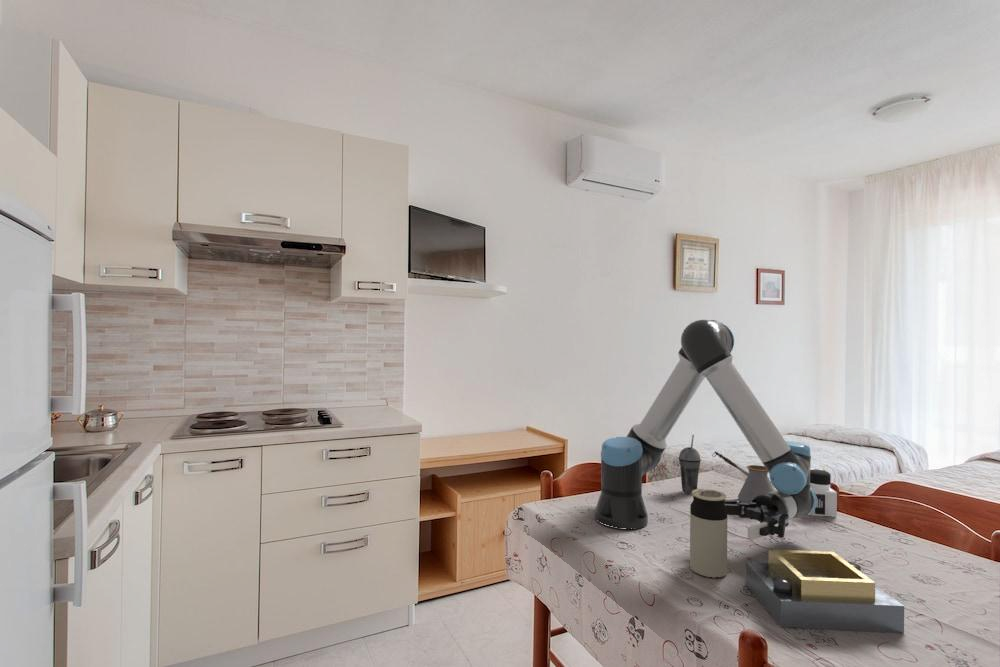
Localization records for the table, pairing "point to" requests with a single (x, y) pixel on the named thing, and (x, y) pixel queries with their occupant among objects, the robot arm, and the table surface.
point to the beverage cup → (689, 468)
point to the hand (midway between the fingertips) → (721, 524)
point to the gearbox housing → (822, 593)
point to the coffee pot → (752, 481)
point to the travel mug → (708, 533)
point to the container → (823, 493)
